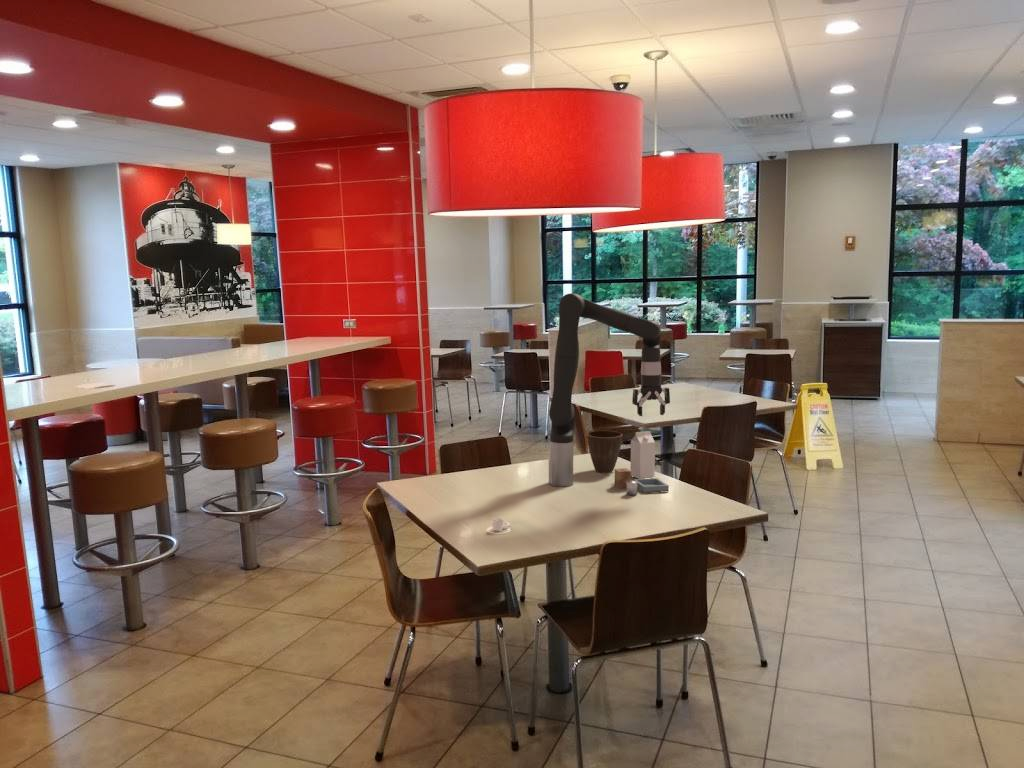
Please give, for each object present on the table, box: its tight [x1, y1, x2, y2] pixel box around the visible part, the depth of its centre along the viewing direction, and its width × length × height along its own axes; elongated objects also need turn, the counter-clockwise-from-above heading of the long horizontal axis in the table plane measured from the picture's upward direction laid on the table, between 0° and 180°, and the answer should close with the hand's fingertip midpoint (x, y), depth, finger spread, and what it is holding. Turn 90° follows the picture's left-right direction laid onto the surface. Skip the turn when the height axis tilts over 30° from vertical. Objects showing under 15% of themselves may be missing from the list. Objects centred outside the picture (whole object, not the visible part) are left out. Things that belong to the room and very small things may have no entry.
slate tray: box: [632, 477, 670, 494], centre depth 319 cm, size 10×12×2 cm
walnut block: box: [614, 467, 632, 490], centre depth 321 cm, size 5×5×7 cm
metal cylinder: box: [625, 479, 638, 497], centre depth 310 cm, size 4×4×5 cm
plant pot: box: [586, 430, 623, 474], centre depth 348 cm, size 15×15×16 cm
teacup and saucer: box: [485, 517, 511, 535], centre depth 267 cm, size 9×8×4 cm
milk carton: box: [629, 430, 656, 479], centre depth 336 cm, size 7×7×19 cm
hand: (651, 415), depth 315 cm, fingers open, 8 cm apart
